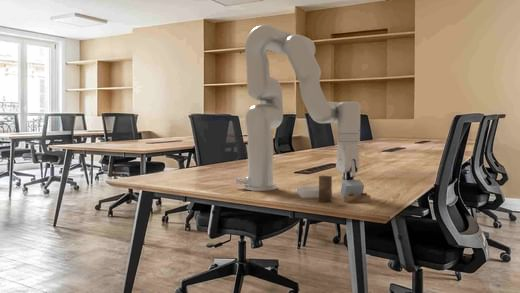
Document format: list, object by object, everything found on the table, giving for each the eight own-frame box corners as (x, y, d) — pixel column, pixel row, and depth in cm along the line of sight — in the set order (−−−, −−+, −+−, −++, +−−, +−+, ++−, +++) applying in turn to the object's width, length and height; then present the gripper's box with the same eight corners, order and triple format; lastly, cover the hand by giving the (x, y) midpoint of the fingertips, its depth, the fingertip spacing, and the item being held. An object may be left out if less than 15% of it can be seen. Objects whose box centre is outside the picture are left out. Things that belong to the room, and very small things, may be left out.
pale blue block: (344, 199, 140) (346, 185, 138) (340, 193, 143) (342, 180, 141) (361, 198, 141) (364, 185, 139) (357, 192, 144) (359, 179, 142)
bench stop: (346, 202, 134) (346, 194, 134) (344, 201, 136) (344, 193, 136) (370, 201, 136) (370, 193, 135) (367, 200, 138) (368, 192, 137)
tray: (303, 198, 141) (303, 191, 141) (296, 193, 150) (296, 186, 150) (331, 197, 142) (332, 190, 142) (323, 192, 152) (323, 185, 152)
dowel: (320, 202, 134) (321, 177, 134) (317, 200, 138) (317, 175, 138) (333, 202, 135) (333, 177, 134) (329, 199, 139) (329, 175, 138)
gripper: (330, 137, 150) (330, 188, 152) (345, 139, 136) (344, 196, 137) (351, 137, 151) (350, 188, 153) (367, 139, 137) (366, 196, 138)
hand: (347, 192), depth 145 cm, fingers closed
